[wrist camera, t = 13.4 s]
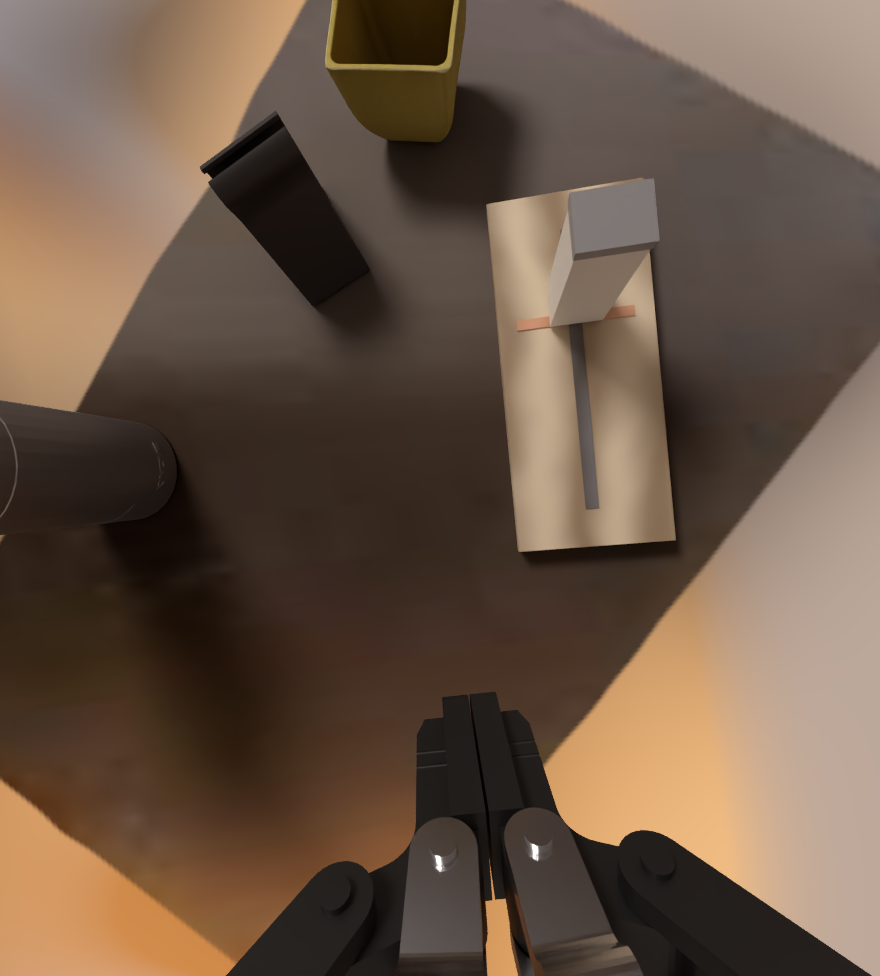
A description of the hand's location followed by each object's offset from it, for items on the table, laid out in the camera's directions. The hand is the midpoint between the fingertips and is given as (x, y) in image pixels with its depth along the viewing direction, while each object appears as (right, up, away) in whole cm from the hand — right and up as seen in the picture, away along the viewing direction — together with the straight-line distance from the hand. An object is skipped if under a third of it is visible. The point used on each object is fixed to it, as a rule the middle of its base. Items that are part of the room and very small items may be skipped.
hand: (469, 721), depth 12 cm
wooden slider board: (+10, +16, +25) cm, 31 cm away
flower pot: (-3, +39, +26) cm, 47 cm away
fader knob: (+10, +21, +23) cm, 32 cm away
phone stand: (-12, +28, +28) cm, 41 cm away
